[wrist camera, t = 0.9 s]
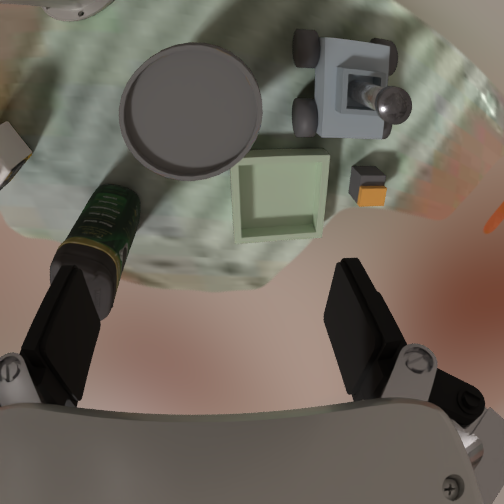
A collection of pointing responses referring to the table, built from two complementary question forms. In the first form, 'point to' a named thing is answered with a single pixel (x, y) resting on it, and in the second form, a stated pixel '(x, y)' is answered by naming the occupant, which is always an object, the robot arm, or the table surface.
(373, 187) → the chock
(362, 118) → the toy car
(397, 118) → the pin
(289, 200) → the tray
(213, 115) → the reusable coffee cup
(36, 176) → the table surface
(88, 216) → the coffee jar
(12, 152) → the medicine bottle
